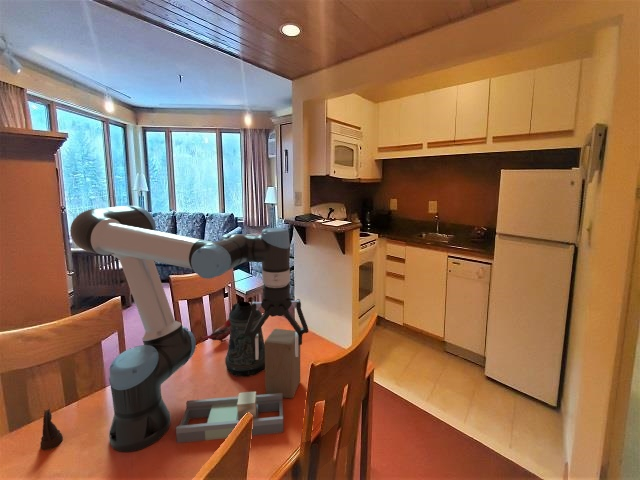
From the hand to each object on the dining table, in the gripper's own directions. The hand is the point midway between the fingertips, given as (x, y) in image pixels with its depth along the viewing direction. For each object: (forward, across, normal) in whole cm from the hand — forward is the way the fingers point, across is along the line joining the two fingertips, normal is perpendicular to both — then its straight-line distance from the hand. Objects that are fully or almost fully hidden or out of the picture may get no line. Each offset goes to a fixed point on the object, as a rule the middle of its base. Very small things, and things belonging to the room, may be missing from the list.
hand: (277, 355), depth 90 cm
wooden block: (+21, +2, +14) cm, 25 cm away
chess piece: (+21, -61, -1) cm, 65 cm away
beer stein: (+21, -13, +30) cm, 39 cm away
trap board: (+21, -13, 0) cm, 25 cm away
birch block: (+18, -9, 0) cm, 20 cm away
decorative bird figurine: (+21, -25, +47) cm, 58 cm away
